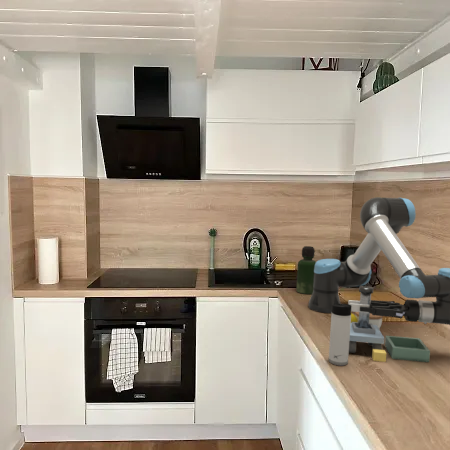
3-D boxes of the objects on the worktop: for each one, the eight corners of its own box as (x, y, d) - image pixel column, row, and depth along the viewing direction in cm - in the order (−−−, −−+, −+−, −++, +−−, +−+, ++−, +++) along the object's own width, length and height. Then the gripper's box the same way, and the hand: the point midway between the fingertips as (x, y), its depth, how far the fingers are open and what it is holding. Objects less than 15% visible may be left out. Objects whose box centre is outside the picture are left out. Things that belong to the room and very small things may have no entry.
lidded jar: (386, 335, 169) (388, 312, 168) (361, 336, 167) (363, 313, 166) (373, 326, 180) (374, 304, 179) (349, 327, 178) (350, 305, 177)
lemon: (346, 328, 175) (347, 309, 175) (359, 332, 172) (360, 312, 171) (340, 332, 171) (341, 312, 170) (353, 335, 168) (354, 315, 167)
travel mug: (337, 367, 138) (341, 307, 136) (324, 359, 144) (328, 301, 142) (352, 364, 140) (356, 305, 138) (339, 357, 146) (343, 300, 144)
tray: (384, 345, 158) (385, 335, 158) (419, 349, 156) (419, 338, 156) (392, 358, 146) (392, 347, 146) (429, 362, 144) (430, 351, 144)
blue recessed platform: (342, 340, 162) (344, 318, 162) (375, 343, 161) (377, 321, 160) (346, 354, 149) (348, 330, 148) (382, 358, 147) (384, 334, 146)
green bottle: (303, 295, 226) (306, 248, 224) (292, 290, 236) (295, 245, 233) (319, 293, 230) (322, 248, 228) (308, 289, 240) (310, 245, 237)
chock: (371, 357, 147) (372, 348, 147) (384, 358, 146) (384, 350, 146) (373, 360, 144) (374, 352, 144) (385, 362, 143) (386, 353, 143)
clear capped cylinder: (355, 326, 157) (358, 285, 155) (368, 328, 156) (372, 286, 154) (357, 331, 152) (360, 288, 150) (371, 332, 151) (374, 289, 150)
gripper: (423, 329, 142) (351, 323, 146) (410, 314, 159) (345, 309, 162) (425, 307, 142) (352, 301, 145) (412, 294, 158) (346, 289, 162)
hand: (349, 305), depth 154 cm, fingers closed on clear capped cylinder, 3 cm apart
